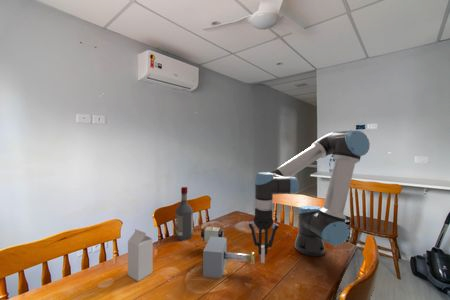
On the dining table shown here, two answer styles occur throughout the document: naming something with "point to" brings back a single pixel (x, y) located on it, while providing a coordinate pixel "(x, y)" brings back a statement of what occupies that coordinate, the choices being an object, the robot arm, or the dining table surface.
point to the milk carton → (140, 255)
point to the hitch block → (214, 257)
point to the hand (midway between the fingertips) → (262, 261)
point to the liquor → (184, 218)
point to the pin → (240, 256)
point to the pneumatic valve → (211, 233)
